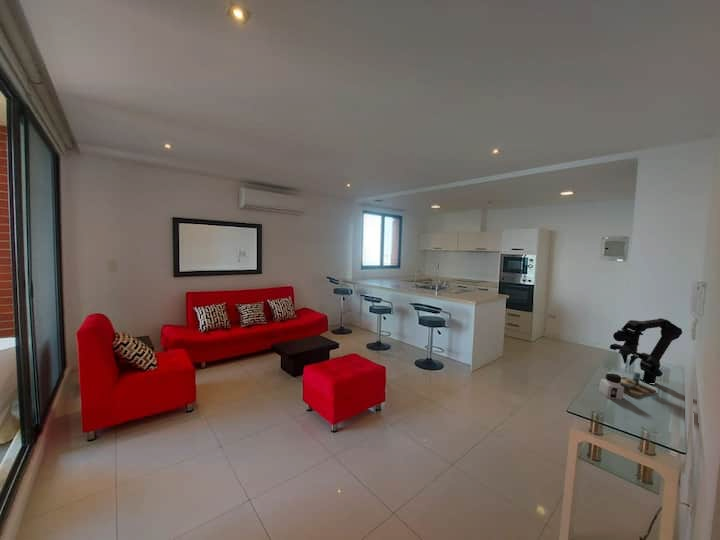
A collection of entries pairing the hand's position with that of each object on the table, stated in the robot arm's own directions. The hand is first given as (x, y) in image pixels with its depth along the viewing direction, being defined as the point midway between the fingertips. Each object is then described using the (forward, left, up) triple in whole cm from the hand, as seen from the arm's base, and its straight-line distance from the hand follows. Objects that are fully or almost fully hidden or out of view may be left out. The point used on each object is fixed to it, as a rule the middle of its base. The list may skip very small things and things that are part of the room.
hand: (627, 364), depth 182 cm
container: (+26, +7, -12) cm, 29 cm away
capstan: (+4, +5, -10) cm, 12 cm away
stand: (+5, +5, -12) cm, 14 cm away
